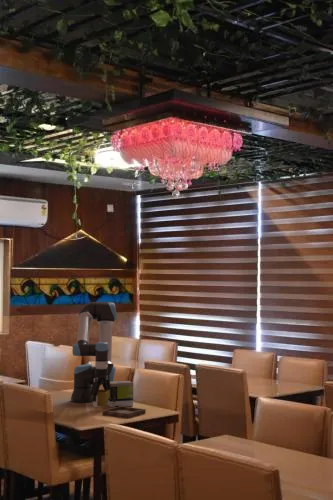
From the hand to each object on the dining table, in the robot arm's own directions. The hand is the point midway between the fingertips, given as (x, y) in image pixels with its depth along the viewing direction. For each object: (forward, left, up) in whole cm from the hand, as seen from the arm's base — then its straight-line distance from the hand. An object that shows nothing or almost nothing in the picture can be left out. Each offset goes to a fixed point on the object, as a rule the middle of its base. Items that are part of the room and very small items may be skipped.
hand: (100, 405), depth 402 cm
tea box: (-1, +21, -3) cm, 21 cm away
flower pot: (0, 0, -1) cm, 1 cm away
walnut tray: (+18, -1, -3) cm, 19 cm away
